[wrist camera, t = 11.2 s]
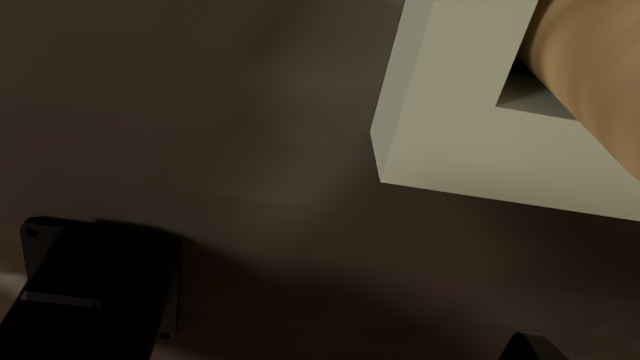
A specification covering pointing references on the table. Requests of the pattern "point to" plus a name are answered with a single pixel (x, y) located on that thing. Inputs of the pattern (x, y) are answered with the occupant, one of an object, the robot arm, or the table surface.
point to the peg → (591, 67)
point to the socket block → (486, 116)
